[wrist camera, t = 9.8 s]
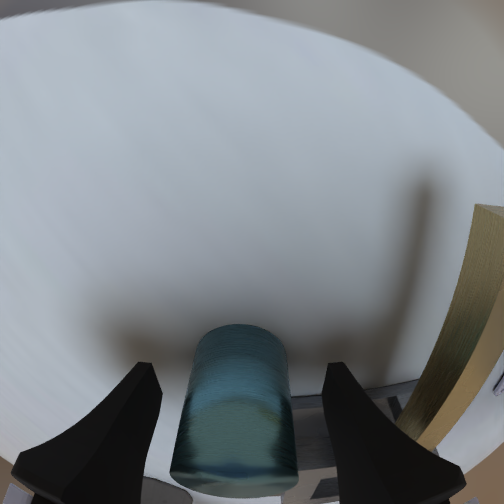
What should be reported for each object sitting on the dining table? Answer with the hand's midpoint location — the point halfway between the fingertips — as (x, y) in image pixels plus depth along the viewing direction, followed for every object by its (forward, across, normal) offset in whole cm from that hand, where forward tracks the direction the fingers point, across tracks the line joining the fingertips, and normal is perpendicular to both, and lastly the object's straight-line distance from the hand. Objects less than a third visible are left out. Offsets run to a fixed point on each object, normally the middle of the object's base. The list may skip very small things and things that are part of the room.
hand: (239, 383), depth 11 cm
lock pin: (-2, -7, 0) cm, 7 cm away
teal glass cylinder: (+1, 0, 0) cm, 1 cm away
